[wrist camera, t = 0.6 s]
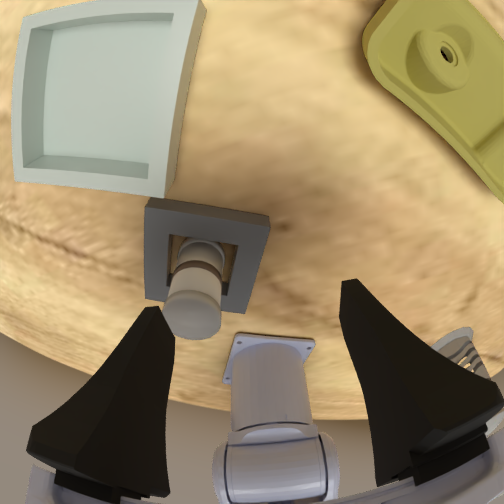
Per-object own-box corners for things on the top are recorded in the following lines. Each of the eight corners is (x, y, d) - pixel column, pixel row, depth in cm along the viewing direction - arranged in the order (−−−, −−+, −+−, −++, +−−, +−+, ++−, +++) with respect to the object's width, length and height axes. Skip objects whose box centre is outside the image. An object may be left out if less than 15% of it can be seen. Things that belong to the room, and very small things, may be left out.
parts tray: (174, 179, 17) (163, 198, 15) (38, 165, 16) (14, 181, 13) (206, 10, 11) (199, -3, 9) (49, 19, 10) (23, 17, 7)
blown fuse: (221, 275, 22) (216, 343, 17) (177, 268, 22) (161, 334, 16) (228, 238, 20) (225, 305, 15) (181, 231, 20) (161, 295, 14)
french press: (465, 353, 34) (515, 479, 13) (405, 381, 36) (444, 521, 15) (479, 317, 28) (547, 467, 8) (410, 350, 31) (465, 524, 10)
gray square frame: (244, 300, 24) (244, 314, 22) (149, 286, 22) (145, 298, 21) (268, 216, 19) (270, 227, 18) (151, 196, 18) (144, 206, 17)
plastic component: (349, 64, 12) (446, -56, 4) (342, 37, 16) (409, -48, 7) (517, 228, 16) (590, 171, 8) (493, 172, 20) (552, 120, 12)
